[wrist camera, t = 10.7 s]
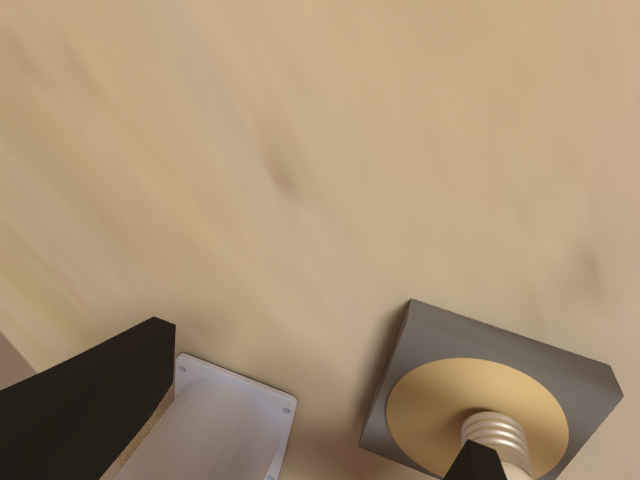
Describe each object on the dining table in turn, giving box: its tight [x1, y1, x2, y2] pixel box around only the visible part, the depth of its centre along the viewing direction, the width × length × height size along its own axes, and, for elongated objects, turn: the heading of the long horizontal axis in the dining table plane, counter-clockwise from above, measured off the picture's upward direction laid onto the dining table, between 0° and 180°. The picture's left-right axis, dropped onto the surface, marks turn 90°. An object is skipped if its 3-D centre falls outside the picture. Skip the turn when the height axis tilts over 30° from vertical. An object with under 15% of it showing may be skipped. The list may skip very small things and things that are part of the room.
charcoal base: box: [358, 299, 624, 480], centre depth 21 cm, size 9×9×2 cm
